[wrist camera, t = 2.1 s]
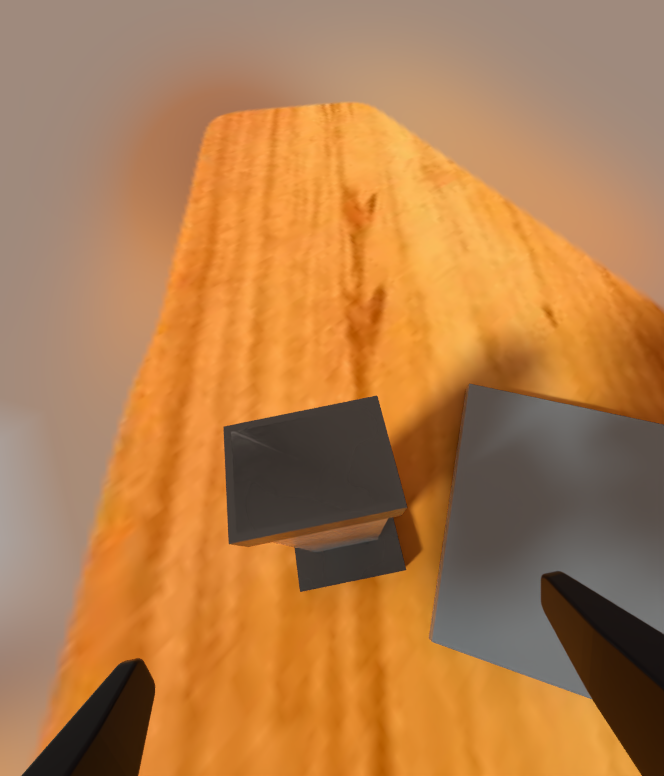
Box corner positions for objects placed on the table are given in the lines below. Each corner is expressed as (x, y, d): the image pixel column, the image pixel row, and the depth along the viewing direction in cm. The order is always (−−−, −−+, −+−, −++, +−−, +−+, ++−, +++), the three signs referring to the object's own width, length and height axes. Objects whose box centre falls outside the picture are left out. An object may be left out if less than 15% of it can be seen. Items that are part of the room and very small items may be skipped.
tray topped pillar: (403, 569, 17) (481, 581, 6) (304, 590, 17) (182, 642, 6) (379, 470, 20) (399, 335, 8) (291, 488, 20) (184, 379, 8)
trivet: (771, 760, 13) (794, 771, 13) (428, 638, 16) (431, 641, 15) (717, 443, 19) (731, 439, 18) (466, 389, 21) (469, 383, 21)
